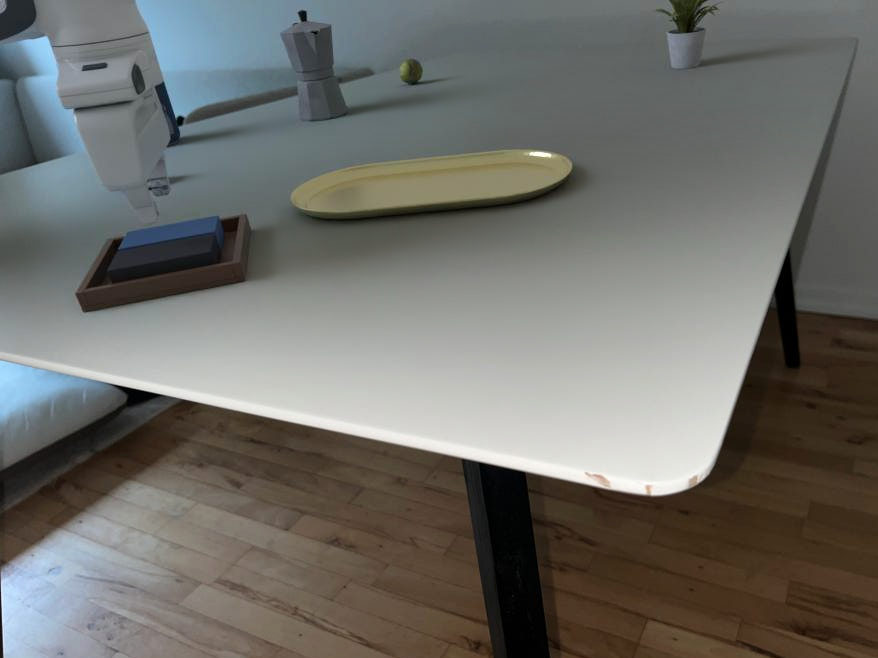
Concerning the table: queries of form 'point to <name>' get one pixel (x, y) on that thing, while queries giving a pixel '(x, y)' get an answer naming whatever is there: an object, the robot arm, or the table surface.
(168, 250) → the pad charcoal
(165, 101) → the soda can
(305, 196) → the serving platter
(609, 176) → the table surface
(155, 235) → the pad blue
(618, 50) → the table surface
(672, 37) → the house plant
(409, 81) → the lime
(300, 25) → the coffeepot
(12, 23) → the robot arm
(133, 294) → the tray
